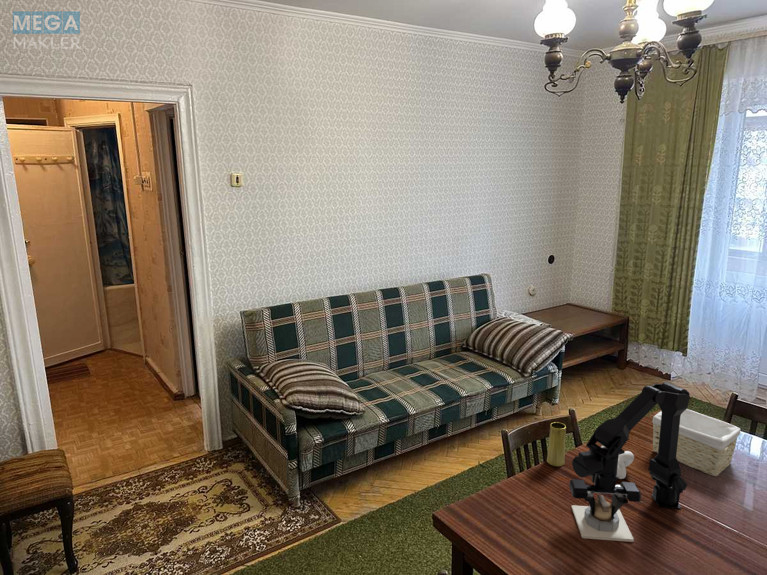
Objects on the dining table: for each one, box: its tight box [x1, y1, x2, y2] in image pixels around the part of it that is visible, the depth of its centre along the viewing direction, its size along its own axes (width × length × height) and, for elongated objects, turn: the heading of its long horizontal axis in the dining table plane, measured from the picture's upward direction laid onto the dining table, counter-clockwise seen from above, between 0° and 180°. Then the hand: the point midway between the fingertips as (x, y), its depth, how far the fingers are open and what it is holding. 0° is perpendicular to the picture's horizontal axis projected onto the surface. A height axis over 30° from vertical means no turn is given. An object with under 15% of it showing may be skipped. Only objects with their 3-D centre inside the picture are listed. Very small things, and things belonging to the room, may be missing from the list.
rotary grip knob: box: [592, 494, 612, 522], centre depth 158 cm, size 6×5×6 cm
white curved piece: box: [600, 445, 635, 480], centre depth 184 cm, size 11×12×9 cm
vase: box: [546, 421, 567, 467], centre depth 190 cm, size 6×6×14 cm
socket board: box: [571, 504, 635, 543], centre depth 158 cm, size 14×14×3 cm
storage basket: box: [651, 408, 741, 477], centre depth 191 cm, size 24×16×15 cm
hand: (601, 515), depth 158 cm, fingers closed on rotary grip knob, 5 cm apart
